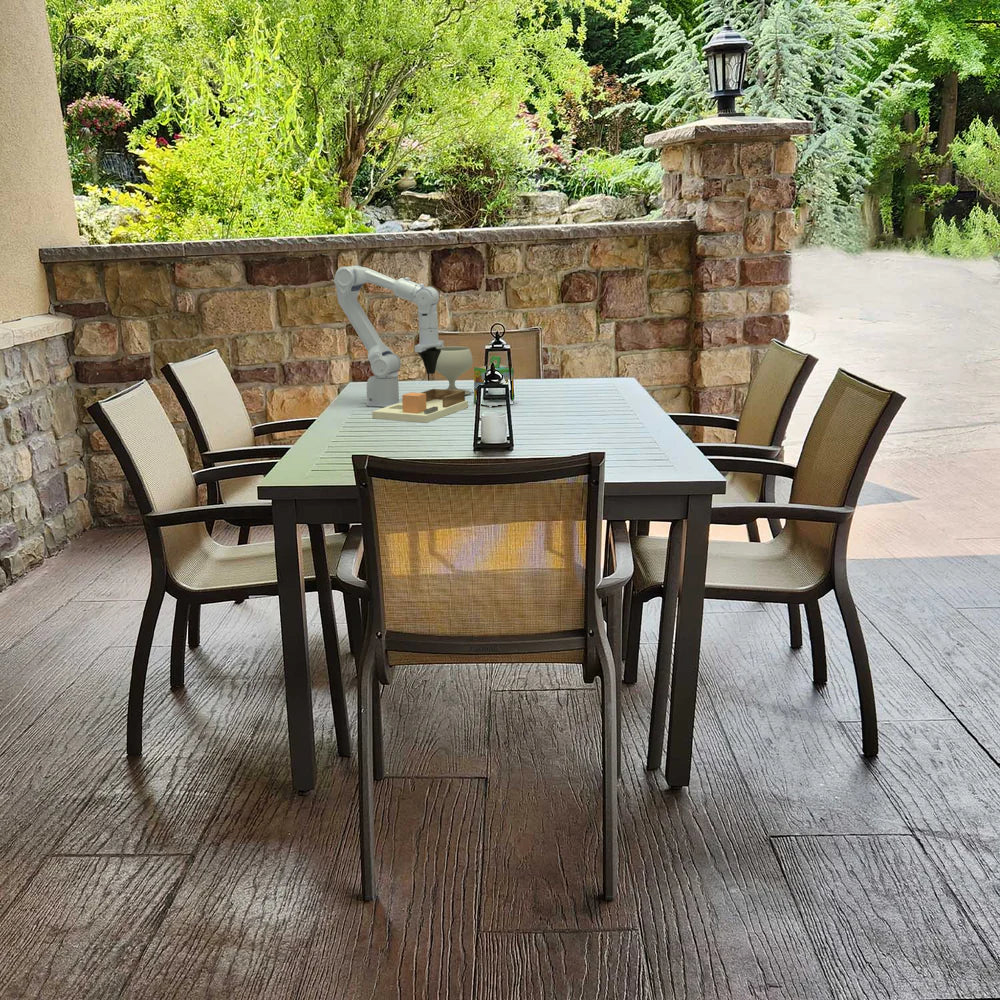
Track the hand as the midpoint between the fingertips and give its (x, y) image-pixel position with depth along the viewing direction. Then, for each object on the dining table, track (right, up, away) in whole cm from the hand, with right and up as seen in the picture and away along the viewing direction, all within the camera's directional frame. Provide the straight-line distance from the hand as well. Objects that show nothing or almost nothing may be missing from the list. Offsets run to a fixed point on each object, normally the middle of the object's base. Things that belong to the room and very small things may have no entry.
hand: (430, 373), depth 305 cm
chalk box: (+19, -9, +7) cm, 22 cm away
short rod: (+1, -13, -16) cm, 21 cm away
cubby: (+3, -9, -1) cm, 10 cm away
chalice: (+5, -4, +26) cm, 27 cm away
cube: (-4, -13, -15) cm, 20 cm away
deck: (-2, -12, -6) cm, 14 cm away
